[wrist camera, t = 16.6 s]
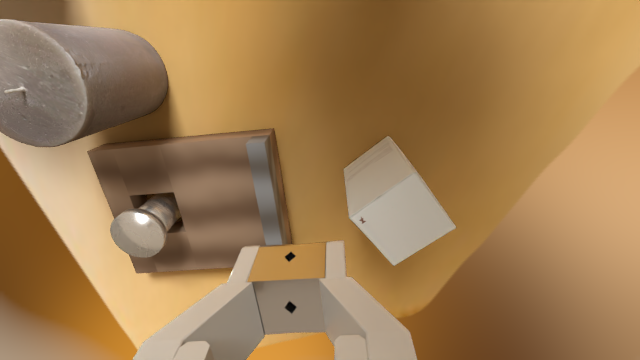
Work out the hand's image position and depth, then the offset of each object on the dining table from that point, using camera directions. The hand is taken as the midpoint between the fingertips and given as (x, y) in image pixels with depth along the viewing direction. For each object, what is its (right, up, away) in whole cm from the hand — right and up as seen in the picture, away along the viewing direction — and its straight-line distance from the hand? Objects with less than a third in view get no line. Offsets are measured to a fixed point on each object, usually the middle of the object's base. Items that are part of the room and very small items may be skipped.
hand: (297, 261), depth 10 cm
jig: (-15, 0, +34) cm, 37 cm away
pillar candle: (-22, +15, +28) cm, 38 cm away
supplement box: (+9, +3, +31) cm, 33 cm away
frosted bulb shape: (-20, -1, +34) cm, 39 cm away
